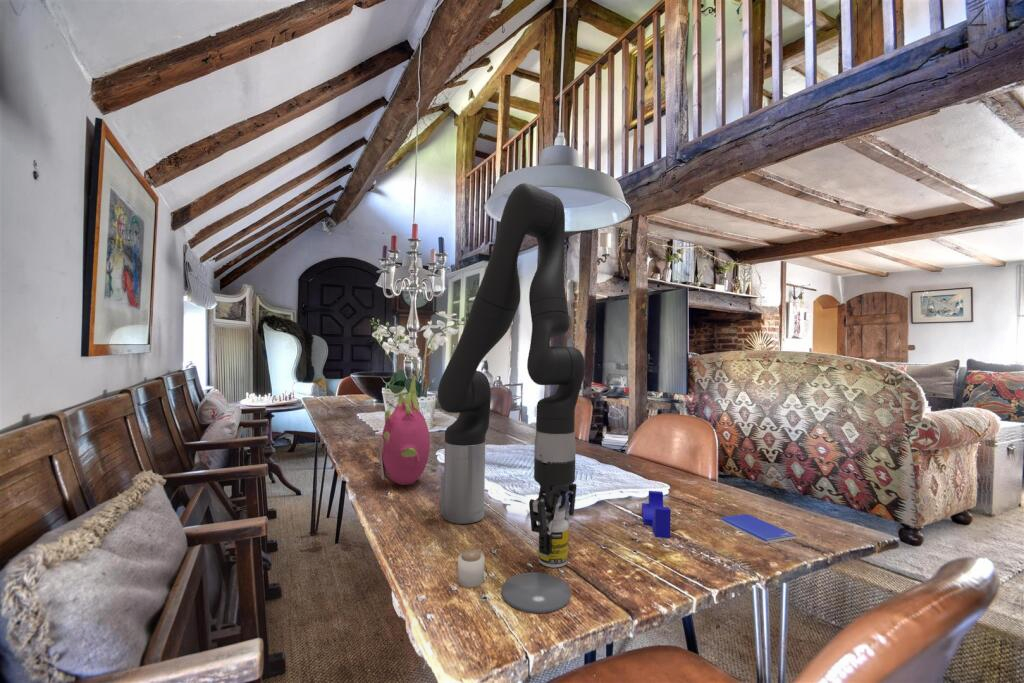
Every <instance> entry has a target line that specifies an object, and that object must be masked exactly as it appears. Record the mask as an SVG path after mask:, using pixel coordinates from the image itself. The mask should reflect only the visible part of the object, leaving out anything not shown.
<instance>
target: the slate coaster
mask: <svg viewBox="0 0 1024 683" xmlns="http://www.w3.org/2000/svg"><path fill="white" fill-rule="evenodd" d="M571 594H572V590H571V587H570V586H569V584H568V583H567V582H566V581H565V580H564V579H561V578H560V577H558V576H556V575H553V574H550V573H544V572H535V571H534V572H531V571H530V572H522V573H519V574H516V575H513V576H510V577H509V578H507V579H506V580H505V581H504V583H503V584H502V587H501V595H502V598H504V599H503V600H504V601H505V603H507V605H509V606H510V607H512V608H513V609H516V610H518V611H521V612H526V613H531V614H548V613H553V611H554V612H556V611H559V610H561V609H563V608H565V607H566V606H567V605H568V604H569V603H570V601H571V597H572V595H571Z"/></svg>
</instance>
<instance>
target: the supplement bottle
mask: <svg viewBox="0 0 1024 683" xmlns="http://www.w3.org/2000/svg"><path fill="white" fill-rule="evenodd" d="M545 514H546V515H551V514H552V513H549V512H546V511H545ZM564 518H565V508H564V507H562V508H561V509H559V510H558V515H557V520H556V521H554V522H553V527H552V532H551V534H552V552H551V554H549V555H545V554H542V553H540V552H539V549H538V552H537V555H538V556H537V557H538V558H537V559H538V562H539V563H540V564H541V565H543V566H545V567H547V568H557V569H558V568H562V567H564V566H566V565H567V563H568V558H569V529H570V528H569V526H570V525H569V522H567V521H566V520H565V519H564ZM546 525H548V520H547V519H546Z"/></svg>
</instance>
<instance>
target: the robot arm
mask: <svg viewBox="0 0 1024 683" xmlns="http://www.w3.org/2000/svg"><path fill="white" fill-rule="evenodd" d="M564 207H565V206H564V203H563V201H562V199H560V198H559V197H558V196H557V195H556V194H553V193H551V192H550V191H546V190H544V189H542V188H539V187H537V186H534V185H532V184H530V183H526V182H525V183H524V182H523V183H519V184H518V185H516V186H515V188H513V190H512V191H511V192H510V194H509V195H508V197H507V200H506V202H505V205H504V208H503V210H502V214H501V219H500V221H499V225H498V229H497V233H496V237H495V241H494V244H493V247H492V250H491V254H490V257H489V259H488V260H489V261H488V263H487V266H486V269H485V271H484V274H483V277H482V279H481V282H480V285H479V287H478V289H477V292H476V295H475V298H474V300H473V302H472V304H471V308H470V312H469V315H468V317H467V320H466V323H465V325H464V328H463V330H462V332H461V334H460V338H459V340H458V342H457V345H456V347H455V349H454V351H453V353H452V355H451V357H450V359H449V361H448V363H447V366H446V367H445V369H444V370H443V371H444V372H443V373H442V376H441V378H440V380H439V384H438V388H437V401H438V404H439V406H440V408H441V409H442V410H443V411H444V412H447V413H449V414H451V413H453V414H455V413H456V414H457V413H458V417H457V419H455V421H454V422H453V423H451V425H449V426H448V427H446V429H445V430H444V466H443V467H444V468H443V469H444V471H443V473H441V475H440V496H439V497H440V498H439V500H440V504H439V506H440V507H439V509H440V510H439V515H440V516H441V517H443V519H444V520H445V521H447V522H449V523H452V524H461V525H463V524H465V525H466V524H472V523H474V524H475V523H477V522H479V521H482V519H484V518H485V494H486V493H485V490H486V489H485V485H486V484H485V483H486V482H485V480H486V478H485V477H486V475H485V474H486V435H487V432H488V430H489V427H490V426H489V425H490V416H491V402H492V393H491V392H492V390H491V385H490V381H489V379H488V377H487V376H486V374H485V373H484V372H482V371H480V370H477V369H478V368H479V366H480V364H481V362H482V361H483V359H484V358H485V357H486V356H487V354H488V353H489V352H490V351H491V350H492V349H494V347H495V346H496V345H497V344H498V343H499V342H500V341H501V340H502V339H503V338H504V336H505V335H506V334H507V332H508V331H509V330H510V327H511V325H512V323H513V321H514V318H515V316H516V314H517V312H518V308H519V305H520V302H521V285H520V278H519V270H518V259H519V254H520V251H521V247H522V245H523V244H522V243H523V241H524V238H525V236H530V237H533V238H534V239H535V238H536V241H537V244H538V249H539V262H538V266H537V267H536V271H535V273H534V275H533V278H532V280H531V283H530V286H529V293H528V294H529V295H528V297H529V298H528V302H529V309H530V311H529V312H530V317H531V336H530V344H529V351H528V357H527V364H526V365H527V367H526V368H527V373H528V377H530V379H531V381H533V383H535V384H536V385H539V386H558V387H557V389H556V391H555V392H554V394H552V395H550V396H547V397H543V398H541V399H539V400H538V401H537V404H536V413H535V414H536V416H535V417H536V419H535V423H536V424H535V426H536V427H535V437H534V447H533V448H534V450H533V451H534V452H533V454H534V455H533V456H534V458H533V461H534V462H533V465H534V466H533V479H534V481H535V482H536V483H537V484H538V485H539V491H538V497H537V498H536V499H532V498H531V499H530V500H529V502H528V503H529V504H528V505H529V506H528V507H529V516H530V529H531V531H532V532H533V533H538V550H539V552H540V553H542V554H545V555H549V554H551V552H552V534H551V532H552V527H553V522H554V521H556V520H557V515H558V510H559V509H561V508H562V507H564V508H565V518H564V519H565V520H566V521H567V522H568V523H569V522H570V519H571V518H570V517H571V516H572V517H573V516H574V513H575V507H576V506H575V504H576V496H577V495H576V494H577V483H575V481H576V446H577V445H576V436H575V421H576V420H575V417H576V413H575V412H576V407H577V403H578V398H579V395H580V391H581V388H582V385H583V382H584V379H585V378H584V377H585V374H586V360H585V358H584V355H583V353H582V351H581V350H580V349H578V348H577V347H575V346H551V338H554V337H558V336H562V335H564V334H566V333H567V332H568V331H569V330H570V316H569V309H568V303H567V302H568V301H567V296H566V288H565V287H566V286H565V276H564V275H565V236H566V234H565V233H566V232H565V231H566V216H565V208H564ZM545 511H546V512H549V513H552V514H551V515H546V514H545ZM546 519H547V520H548V525H546Z"/></svg>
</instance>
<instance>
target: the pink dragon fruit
mask: <svg viewBox="0 0 1024 683" xmlns="http://www.w3.org/2000/svg"><path fill="white" fill-rule="evenodd" d="M419 402H420V401H419V400H418V395H417V390H416V376H415V375H412V376H411V383H410V387H409V391H408V393H407V395H406V396H405V397H404V394H403V392H399V393H398V400H397V403H396V406H395V408H394V410H393V412H392V413H391V411H390V410H388V409H387V410H386V411H385V412H384V423H385V424H384V427H383V429H382V434H381V437H380V438H379V464H380V469H381V470H380V473H381V480H385V479H386V476H387V475H388V476H389V478H390V479H391V480H392V481H393V482H394V483H395V484H397V485H401V486H409V485H412V484H414V483H415V482H416V481H418V480H419V478H420V477H421V476H422V474H423V473H424V471H425V469H426V466H427V463H428V461H429V456H430V449H431V438H430V432H429V429H428V428H429V427H428V424H427V421H426V419H425V416H424V415H423V414H422V412H421V409H420V408H421V407H420V403H419Z"/></svg>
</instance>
